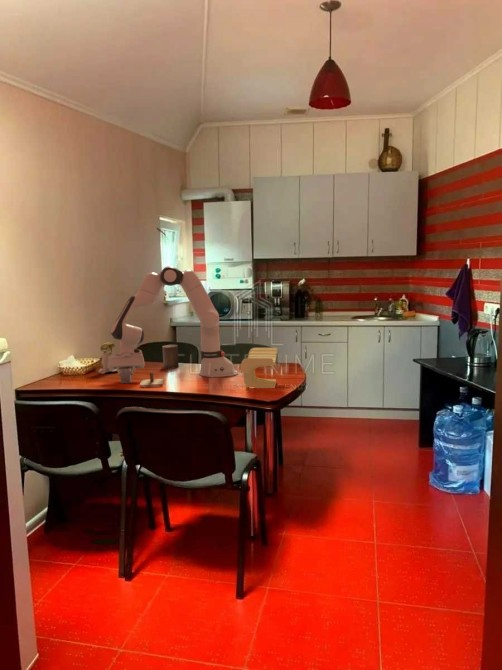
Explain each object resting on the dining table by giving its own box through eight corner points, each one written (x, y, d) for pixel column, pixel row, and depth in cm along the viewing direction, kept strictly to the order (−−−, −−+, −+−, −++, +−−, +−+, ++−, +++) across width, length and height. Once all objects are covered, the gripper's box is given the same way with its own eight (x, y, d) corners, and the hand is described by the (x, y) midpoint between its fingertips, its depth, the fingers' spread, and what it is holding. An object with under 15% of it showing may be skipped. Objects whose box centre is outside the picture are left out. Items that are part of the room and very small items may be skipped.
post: (163, 381, 286) (163, 370, 285) (162, 386, 274) (161, 374, 273) (142, 382, 285) (141, 370, 284) (139, 387, 273) (139, 375, 272)
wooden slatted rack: (249, 378, 288) (248, 347, 286) (277, 378, 286) (277, 347, 283) (241, 392, 259) (240, 358, 256) (272, 393, 257) (272, 358, 254)
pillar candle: (181, 366, 324) (180, 343, 322) (170, 369, 317) (168, 345, 315) (172, 365, 330) (170, 342, 328) (160, 367, 323) (158, 344, 321)
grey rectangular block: (131, 380, 288) (130, 366, 287) (130, 382, 283) (129, 368, 282) (122, 381, 287) (121, 367, 286) (120, 383, 282) (119, 369, 281)
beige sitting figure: (122, 372, 312) (121, 342, 309) (101, 374, 306) (99, 344, 303) (118, 368, 322) (116, 340, 319) (97, 371, 316) (95, 342, 313)
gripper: (107, 351, 288) (105, 372, 280) (144, 350, 290) (143, 370, 282) (109, 357, 293) (107, 378, 285) (145, 356, 295) (144, 376, 287)
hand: (125, 374), depth 284 cm, fingers closed on grey rectangular block, 5 cm apart
